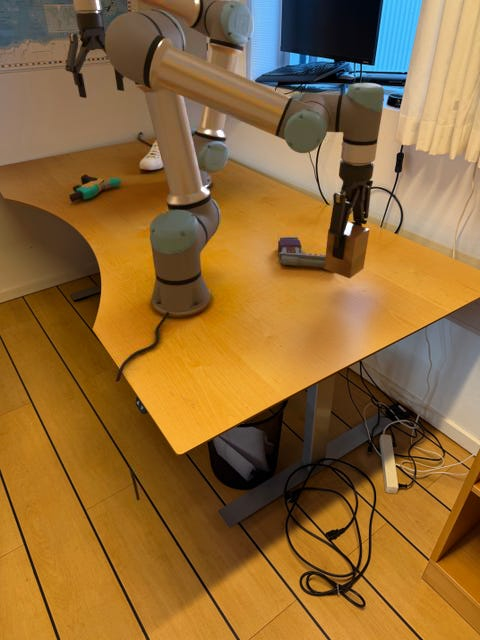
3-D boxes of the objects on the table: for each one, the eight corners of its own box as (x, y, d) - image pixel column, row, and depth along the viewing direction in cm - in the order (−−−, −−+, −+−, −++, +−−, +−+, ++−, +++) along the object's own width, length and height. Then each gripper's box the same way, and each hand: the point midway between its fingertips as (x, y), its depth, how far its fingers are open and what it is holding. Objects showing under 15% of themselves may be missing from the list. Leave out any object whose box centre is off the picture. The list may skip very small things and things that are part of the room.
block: (363, 268, 123) (369, 228, 116) (349, 278, 119) (355, 238, 112) (338, 259, 127) (342, 220, 120) (324, 268, 123) (328, 229, 116)
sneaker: (133, 173, 208) (129, 144, 201) (161, 153, 230) (158, 127, 223) (155, 175, 205) (151, 146, 198) (180, 155, 227) (178, 129, 220)
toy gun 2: (339, 250, 148) (337, 274, 136) (279, 245, 151) (272, 268, 139) (340, 238, 146) (338, 262, 134) (280, 234, 149) (273, 256, 137)
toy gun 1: (47, 189, 181) (76, 196, 175) (93, 169, 199) (121, 175, 193) (49, 200, 183) (79, 207, 177) (95, 180, 202) (123, 186, 196)
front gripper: (365, 147, 114) (353, 234, 128) (318, 168, 103) (310, 261, 116) (393, 153, 110) (378, 243, 124) (348, 175, 99) (336, 272, 112)
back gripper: (117, 9, 144) (128, 86, 156) (41, 14, 129) (59, 98, 142) (132, 9, 139) (142, 89, 152) (55, 15, 125) (73, 102, 137)
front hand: (345, 252), depth 120 cm, fingers closed on block, 7 cm apart
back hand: (102, 93), depth 147 cm, fingers open, 13 cm apart
